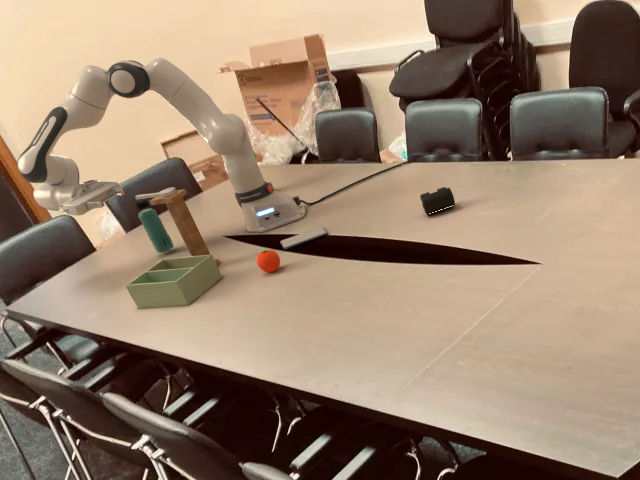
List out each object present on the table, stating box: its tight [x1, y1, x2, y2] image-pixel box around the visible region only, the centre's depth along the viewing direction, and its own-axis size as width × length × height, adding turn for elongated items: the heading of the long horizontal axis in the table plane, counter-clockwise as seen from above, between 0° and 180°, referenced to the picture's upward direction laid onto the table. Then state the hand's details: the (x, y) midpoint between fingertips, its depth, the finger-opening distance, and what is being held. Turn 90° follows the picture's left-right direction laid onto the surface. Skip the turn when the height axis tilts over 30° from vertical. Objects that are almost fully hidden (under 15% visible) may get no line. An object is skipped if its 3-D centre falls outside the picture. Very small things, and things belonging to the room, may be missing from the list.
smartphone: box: [279, 226, 328, 250], centre depth 241 cm, size 8×1×15 cm
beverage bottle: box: [135, 199, 175, 254], centre depth 257 cm, size 6×7×20 cm
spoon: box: [134, 186, 177, 200], centre depth 227 cm, size 16×5×1 cm, turn 73°
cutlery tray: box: [124, 253, 223, 309], centre depth 224 cm, size 20×18×8 cm
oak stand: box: [149, 188, 221, 266], centre depth 233 cm, size 9×7×26 cm
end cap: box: [419, 186, 456, 217], centre depth 233 cm, size 10×7×7 cm
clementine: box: [256, 248, 281, 273], centre depth 222 cm, size 8×7×7 cm
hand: (112, 198), depth 234 cm, fingers open, 8 cm apart
